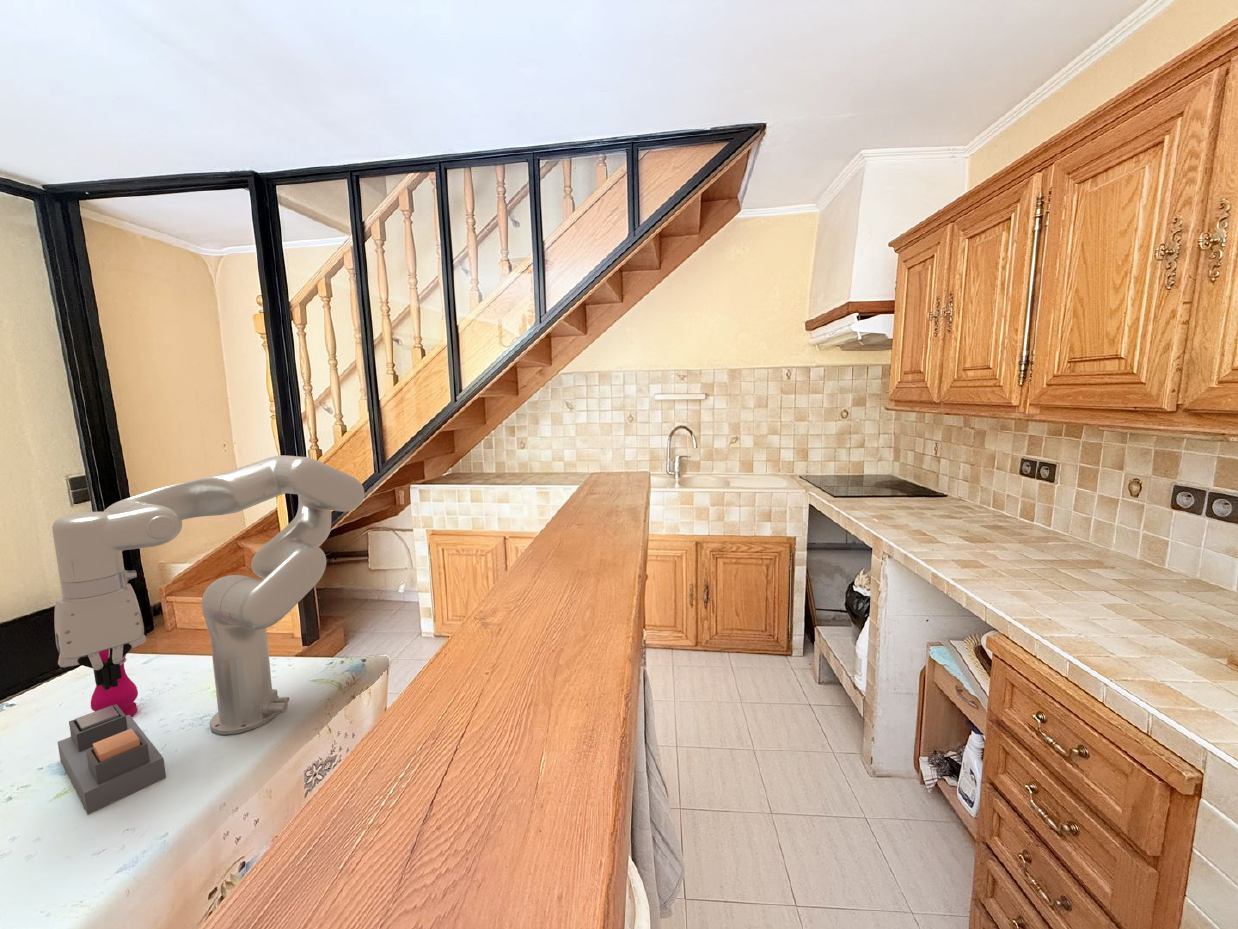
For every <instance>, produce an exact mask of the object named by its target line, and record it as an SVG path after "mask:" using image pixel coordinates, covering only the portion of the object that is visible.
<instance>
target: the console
mask: <svg viewBox="0 0 1238 929" xmlns="http://www.w3.org/2000/svg"><path fill="white" fill-rule="evenodd" d="M113 707H114V709H115V710H116V711H117V713H118V714H119V717H118V718H116V719H113V720H110V721H108V722H105V723H102V724H100V725H97V726H95V727H92V728H89V729H87V730H84V731H81V732H80V731H79V730H78V728H77V725H76V718H75V719H72V720H69V721H68V725H69V731H70V737H66V738H64V739H62V740H61V739H60V740H58V741H57V746H58V747H57V748H58V754H59V755H58V756H59V759H60V760H59V761H60V763H61V764H62V767H63V769H64V771H65V773H66V775H67V776H68V778H69V781H70V782H71V785H72V786H73V789H74V790H75V792H76V794H77V797H78V799H79V801H80V802H81V805H82V806H83V809H84V810H85V813H86V815H87V816H89V815H90V814H93V813H94V812H97V811H99V810H101V809H103V808H106V807H108V806H109V805H111V804H114V803H115V802H116V803H117V801H118V802H119V800H122V799H124V798H126V797H128V796H130V795H133V794H136V792H139V791H142V790H143V789H145V788H147V787H150V786H151V785H153V784H156V783H158V782H160V781H162V780H164V779H166V778H167V776H166V767H165V760H164V759H165V758H164V757H163V755H162V754H161V753H160V751H159V750H158V748H156V746H155V745H154V744H153V742H151V740H150V739H149V737H148V736H147V735H146V734H145V732H144V731H143V730H142V729H141V728H140V726H139V725H138V724H137V722H136V721H135V720H134V718H133V716H132V717H131V716H130V715H127V716H125V714H124V713H123V712H122V710H121V709H120V708H119V707H118V705H117V704H116V705H113ZM129 729H132V730H133V731H134V732H135V734H136V735H137V736H138V738H139V740H140V746H138V747H136V748H133V749H131V750H128V751H126V752H124V753H121V754H119V755H117V756H114V757H112V758H109V759H107V760H105V761H102V762H100V763H98V761H97V760H96V758H95V756H94V750H93V743H96V742H98V741H101V740H103V739H106V738H108V737H111V736H113V735H116V734H119V733H121V732H124V731H126V730H129Z"/></svg>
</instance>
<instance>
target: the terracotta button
mask: <svg viewBox="0 0 1238 929" xmlns="http://www.w3.org/2000/svg"><path fill="white" fill-rule="evenodd" d="M138 746H140V740H139V738H138V736H137V735H136V734H135V732H134V731H133V730H132V729H129V730H126V731H124V732H121V733H119V734H116V735H113V736H111V737H108V738H106V739H103V740H101V741H98V742H96V743H93V750H94V756H95V758H96V760H97V761H98V763H100V762H102V761H105V760H107V759H109V758H112V757H114V756H117V755H119V754H121V753H124V752H126V751H128V750H131V749H133V748H136V747H138Z"/></svg>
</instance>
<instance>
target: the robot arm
mask: <svg viewBox="0 0 1238 929" xmlns="http://www.w3.org/2000/svg"><path fill="white" fill-rule="evenodd" d="M285 494H291V495H297V497H298V498H297V499H298V505H297V512H296V514H295V517H294V518H293V519H292V520H291V521H290V522H289V523H288V524H287V525H286V526H285V527H284V528H283V529H282V530H280V531H279V532H278V533H277V534H276V535H275V536H274V537H272V539H270V540H269V541H267V542H266V544H264V545H263V546H262V547H261V548H260V549H259V550H257V552H256V553H255V554H254V556H253V558H252V559H251V562H250V563H251V564H250V566H251V570H252V572H253V574H255V576H257V577H259V578H256V577H252V576H247V575H243V574H242V575H241V574H232V575H231V574H230V575H225V576H222V577H219V578H217V579H216V580H214V581H213V582H212V583H210V584H209V586H207V588H206V589H205V590H204V592H203V595H202V599H201V611H202V615H203V619H204V621H205V624H206V625H205V626H206V628H207V630H208V635H209V640H210V647H211V657H212V666H213V667H212V668H213V675H214V685H215V693H216V704H217V711H216V713H215V714H214V715H213V716H212V717H211V719H210V721H209V727H210V730H211V732H213V733H215V734H217V735H226V736H227V735H235V734H240V733H245V732H247V731H250V730H254V729H256V728H258V727H261V726H262V725H264V724H266V723H268V722H270V721H271V720H272V719H274V718H275V717H276V716H278V714H279V713H285V712H287V710H288V708H289V702H290V697H288V696H283V697H282V696H281V697H280V696H278V694H279V693H278V689H273V686H272V674H271V665H270V664H271V663H270V655H269V654H270V651H269V644H268V643H269V640H268V633H267V629H268V628H270V627H272V626H274V625H276V624H277V623H279V622H280V621H281V620H282V619H283V618H284V617H285V616H287V614H289V613H290V612H291V610H293V608H294V607H295V606H297V605H298V603H299V602H300V601H302V599H303V598H305V597H306V595H307V594H308V593H309V592H310V591H311V590H312V589H313V588H314V587H315V586H317V584H318V583H319V581H320V580H321V578H322V577H323V575H324V573H325V571H326V568H327V557H326V554H325V552H324V551H323V549H322V548H321V545H322V544H324V542H325V541H326V540H327V539H328V537H329V535H330V532H331V529H332V511H335V512H349V511H352V510H353V511H354V510H355V509H357V508H358V507H359V506H360V505H361V504H362V503H363V501H364V498H365V488H364V486H363V485H362V483H361V481H359V479H357V478H356V477H354V476H352V475H350V474H348V473H346V472H344V471H341V470H339V469H337V468H335V467H333V466H331V465H328V464H326V463H323V462H322V461H319V460H317V459H315V458H311V457H308V456H299V455H298V456H297V455H296V456H295V455H283V454H282V455H275V456H272V457H268V458H264V459H261V460H259V461H256V462H252V463H250V464H247V465H244V466H241V467H238V468H235V469H231V470H228V471H225V472H222V473H219V474H215V475H212V476H211V475H210V476H206V477H203V478H197V479H194V480H191V481H186V482H184V481H183V482H180V483H175V484H172V485H167V486H164V487H163V486H162V487H160V488H156V489H151V490H150V491H146V492H143V493H140V494H137V495H133V496H131V497H127V498H124V499H121V500H119V501H116V502H114V503H112V504H111V505H109V506H108V507H106V508H105V509H104V510H103V511H90V512H88V511H87V512H79V513H73V514H69V515H64V516H61V517H59V518H57V519H55V521H53V523H52V528H51V530H52V535H53V536H52V537H53V542H54V549H55V555H56V556H55V558H56V563H57V570H58V575H59V581H60V588H61V596H62V597H59V598H57V599H56V600H55V604H54V617H53V618H54V634H55V637H54V638H55V645H56V649H57V651H58V653H59V655H58V660H57V665H58V666H59V667H60V668H67V667H74V666H79V665H80V666H84V667H87V668H89V669H93V674H94V681H95V686H96V685H97V686H99V685H101V686H102V687H103V688H104V690H108V689H109V688H111V687H116V686H118V681H117V679H120V678H122V677H121V669H120V662H121V661H122V658H123V657H124V656H125V655H128V653H129V652H130V651H131V649H133V648H136V647H138V646H140V645H143V644H144V643H146V642H147V637H146V635H145V626H144V621H143V616H142V612H141V608H140V606H139V602H138V599H137V598H138V597H137V595H136V593H135V591H134V588H133V586H132V585H131V583H128V582H129V580H132V579H135V578H137V577H138V574H137V571H136V569H134V570H126V569H125V567H124V566H125V565H124V558H123V557H124V556H123V551H127V550H136V549H145V548H146V549H147V548H154V547H159V546H162V545H165V544H168V543H169V542H171V541H173V540H174V539H176V538H177V536H179V534H180V533H181V530H182V528H183V521H184V520H189V519H193V518H200V517H212V516H216V517H218V516H224V515H230V514H237V513H239V512H243V511H245V510H246V509H250V508H251V507H254V506H256V505H259V504H262V503H264V502H266V501H269V500H271V499H274V498H276V497H279V496H282V495H285ZM260 578H261V579H260ZM108 649H109V658H108V659H107V661H106V663H104V662H103V661H102V660H101V658H100V656H99V653H98V652H101V651H104V650H108Z"/></svg>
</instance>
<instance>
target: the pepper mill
mask: <svg viewBox="0 0 1238 929" xmlns="http://www.w3.org/2000/svg"><path fill="white" fill-rule="evenodd" d="M98 653H99V656H100V658H101V660H102V661H103V662H104V663H106V661H107V659H108V658H109V649H108V650H104V651H101V652H98ZM126 655H127V654H126ZM126 655H125V656H124V657H123V658H122V661H121V662H120V669H121V677H122V678H120V679H117V681H118V686H116V687H111V688H109V689H108V690H104V688H103V687H102V686H101V685H99V686H97V685H96V684H95V687H94V688H95V689H94V690H93V693H92V696H91V698H90V709H91V710H92V712H95V711H98V710H101V709H103V708H106V707H109V706H113V705H116V704H117V705H118V707H119V708H120V709H121V710H122V712H123V713H124V714H125V716H127V715H130V716H131V717H132V718H133V716H135V715H136V714H137V712H138V707H137V703H136V702H135V701H136V699H137V698H138V695H139V691H138V687H137V685H136V684H135V683H134V682H133V680H131V678H130V677H129V676H128V675H127V672H126V669H125V663H126V662H127V658H126V657H127V656H126ZM135 713H136V714H135Z"/></svg>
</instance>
